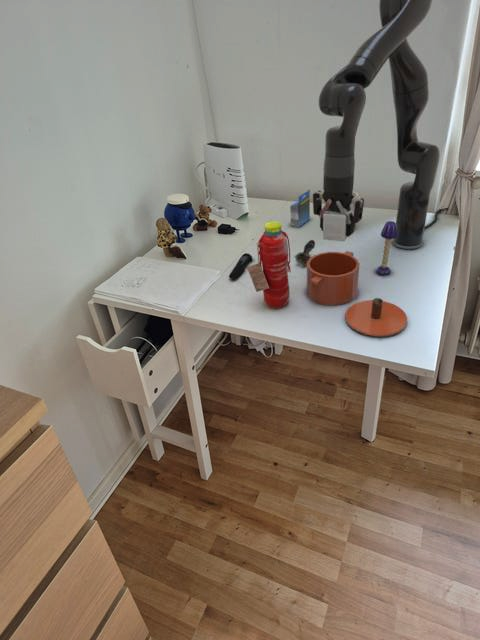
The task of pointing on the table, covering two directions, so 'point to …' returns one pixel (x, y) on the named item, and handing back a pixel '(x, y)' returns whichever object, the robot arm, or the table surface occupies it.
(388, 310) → the pot lid
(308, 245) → the eagle figurine
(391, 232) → the purple tan pedestal column
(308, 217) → the tape cartridge
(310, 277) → the pot
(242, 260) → the electric trimmer
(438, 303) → the table surface
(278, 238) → the water bottle
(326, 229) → the white cardboard box
